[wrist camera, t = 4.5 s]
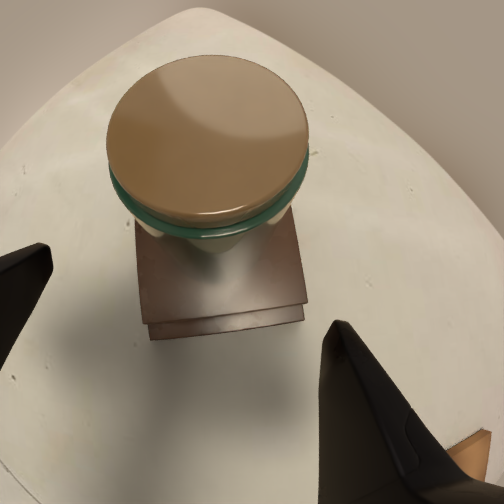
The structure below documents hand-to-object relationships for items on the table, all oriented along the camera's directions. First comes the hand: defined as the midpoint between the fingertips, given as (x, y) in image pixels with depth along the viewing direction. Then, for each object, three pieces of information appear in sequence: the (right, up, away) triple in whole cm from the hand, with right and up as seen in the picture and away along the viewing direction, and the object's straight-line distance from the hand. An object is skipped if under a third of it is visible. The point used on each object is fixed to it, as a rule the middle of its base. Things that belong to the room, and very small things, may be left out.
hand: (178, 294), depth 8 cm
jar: (0, +2, +7) cm, 7 cm away
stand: (0, +1, +12) cm, 12 cm away
